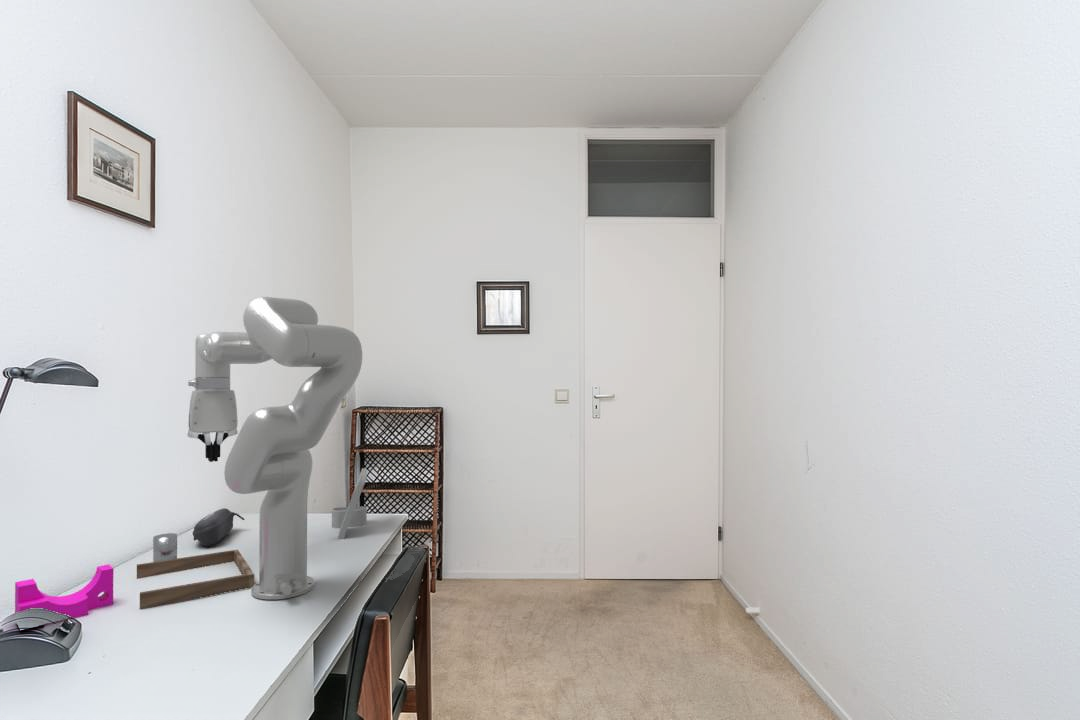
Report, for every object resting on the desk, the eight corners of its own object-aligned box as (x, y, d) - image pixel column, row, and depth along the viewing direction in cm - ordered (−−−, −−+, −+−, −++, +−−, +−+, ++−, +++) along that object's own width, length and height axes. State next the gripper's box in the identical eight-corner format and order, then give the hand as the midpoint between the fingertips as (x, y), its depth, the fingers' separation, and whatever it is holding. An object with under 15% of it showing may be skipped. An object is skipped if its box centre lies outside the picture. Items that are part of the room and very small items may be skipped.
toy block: (19, 631, 115) (20, 590, 115) (14, 621, 120) (15, 582, 120) (116, 608, 126) (116, 571, 126) (108, 600, 131) (108, 564, 131)
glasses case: (206, 533, 181) (207, 506, 181) (246, 531, 183) (246, 505, 183) (185, 552, 163) (185, 522, 163) (228, 549, 165) (229, 520, 165)
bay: (254, 588, 137) (254, 574, 137) (139, 609, 125) (139, 593, 126) (237, 561, 155) (237, 549, 156) (136, 577, 144) (136, 564, 144)
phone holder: (331, 528, 186) (332, 468, 186) (367, 526, 189) (367, 466, 189) (327, 545, 170) (327, 478, 170) (366, 542, 172) (366, 476, 172)
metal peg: (177, 565, 152) (178, 536, 152) (153, 569, 149) (153, 540, 149) (176, 560, 156) (176, 532, 156) (152, 564, 154) (152, 535, 154)
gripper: (179, 386, 145) (179, 466, 145) (249, 384, 154) (249, 459, 154) (175, 385, 151) (175, 462, 151) (243, 383, 160) (242, 456, 160)
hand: (212, 460), depth 152 cm, fingers closed
